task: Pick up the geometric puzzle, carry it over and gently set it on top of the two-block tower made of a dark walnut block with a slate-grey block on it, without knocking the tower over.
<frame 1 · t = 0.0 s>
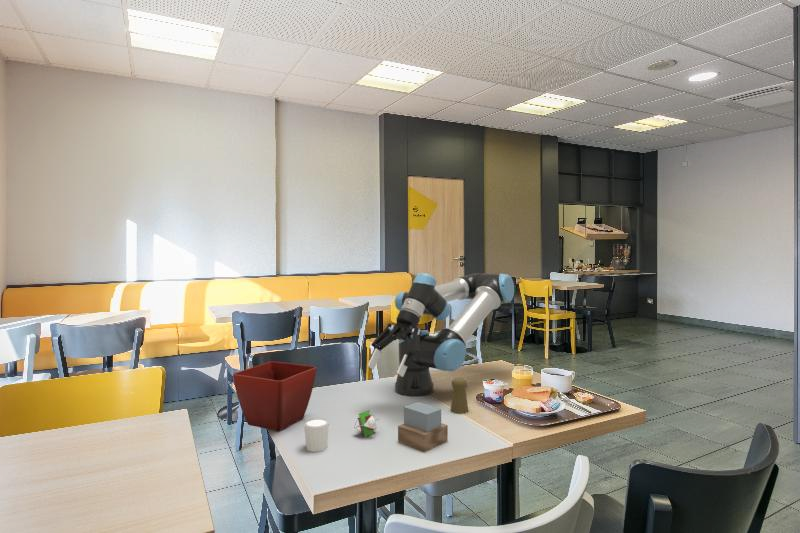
hand: (384, 371, 156), 15 cm above the table, tool tilted 35°, fingers open, 13 cm apart
white cup: (317, 448, 134), on the table
tower base block: (422, 442, 137), on the table, touching tower top block
plant pot: (276, 422, 154), on the table
cork: (459, 411, 163), on the table
geometric puzzle: (366, 434, 143), on the table
tower top block: (422, 425, 137), point 5 cm above the table, touching tower base block
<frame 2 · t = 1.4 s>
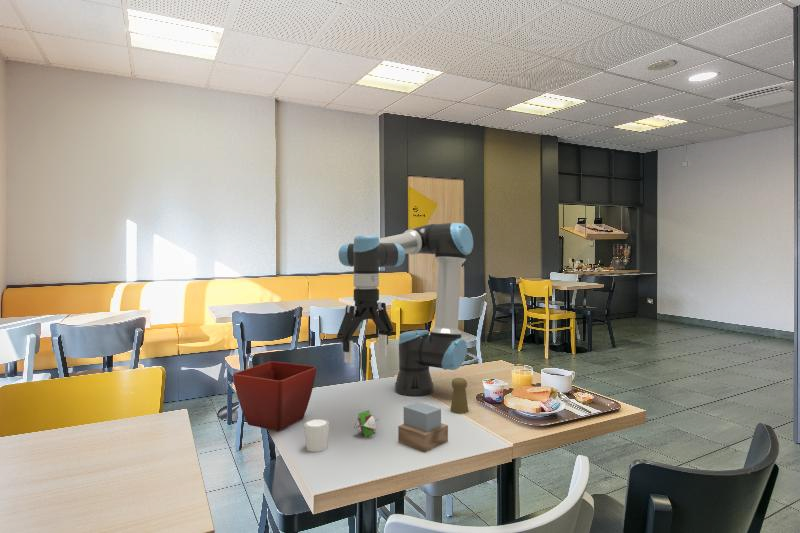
hand: (366, 359, 143), 22 cm above the table, tool pointing down, fingers open, 13 cm apart
tower base block: (423, 442, 137), on the table
tower top block: (422, 425, 137), point 5 cm above the table
everything else where it was.
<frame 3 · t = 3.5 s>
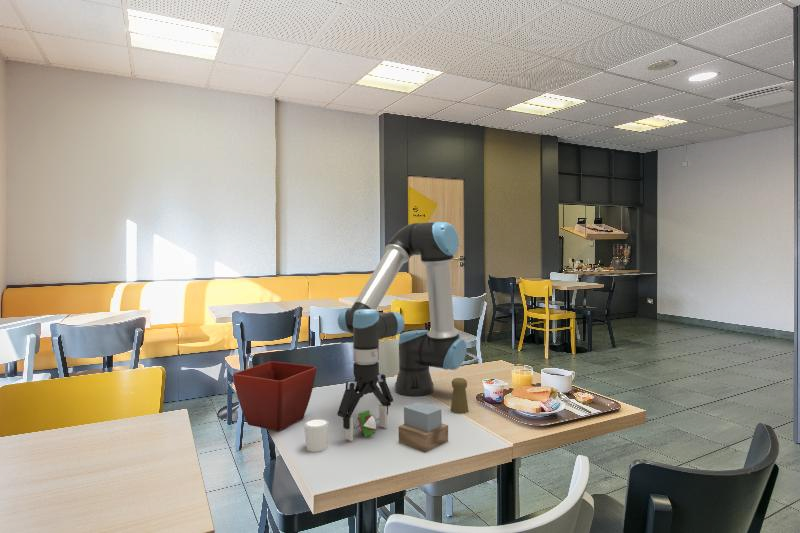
hand: (366, 432, 143), 0 cm above the table, tool pointing down, fingers open, 13 cm apart
tower base block: (423, 443, 137), on the table, touching tower top block
tower top block: (422, 425, 137), point 5 cm above the table, touching tower base block
everything else where it was.
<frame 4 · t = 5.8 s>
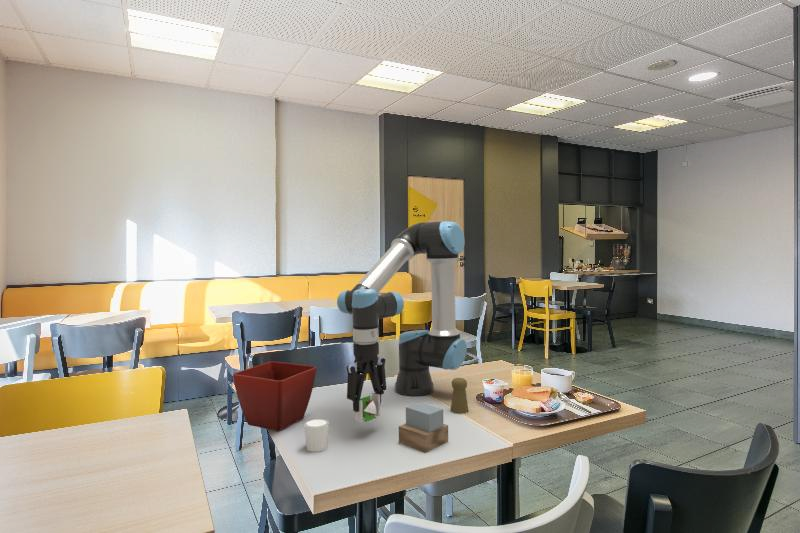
hand: (367, 418, 143), 5 cm above the table, tool pointing down, fingers closed on geometric puzzle, 6 cm apart
tower base block: (423, 443, 137), on the table
geometric puzzle: (367, 419, 143), point 4 cm above the table, touching gripper
tower top block: (424, 425, 137), point 5 cm above the table
everything else where it was.
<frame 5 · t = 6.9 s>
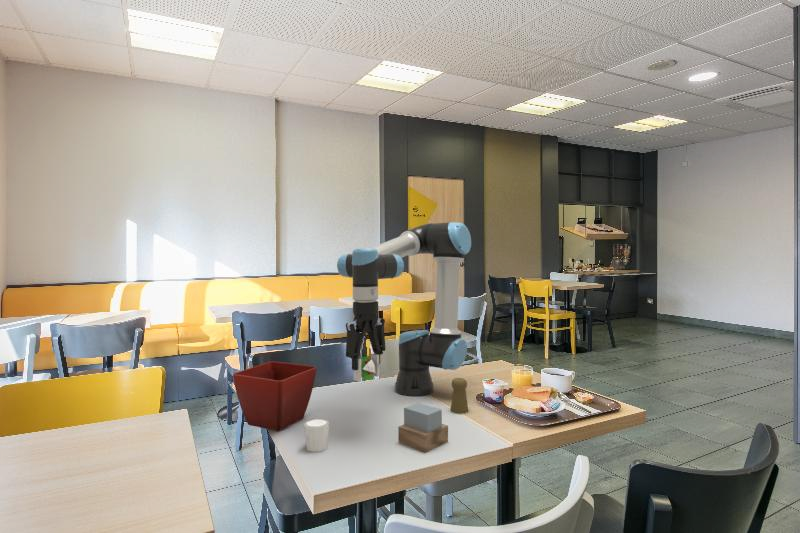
hand: (366, 377, 143), 17 cm above the table, tool pointing down, fingers closed on geometric puzzle, 6 cm apart
geometric puzzle: (366, 379, 143), point 16 cm above the table, touching gripper
everything else where it was.
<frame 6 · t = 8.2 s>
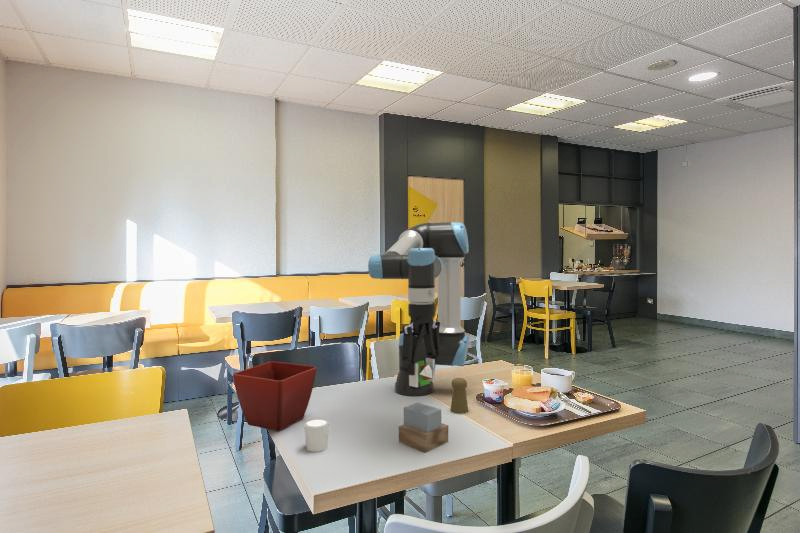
hand: (422, 383, 137), 17 cm above the table, tool pointing down, fingers closed on geometric puzzle, 6 cm apart
tower base block: (423, 443, 137), on the table, touching tower top block
geometric puzzle: (421, 384, 137), point 16 cm above the table, touching gripper
tower top block: (422, 425, 137), point 5 cm above the table, touching tower base block
everything else where it was.
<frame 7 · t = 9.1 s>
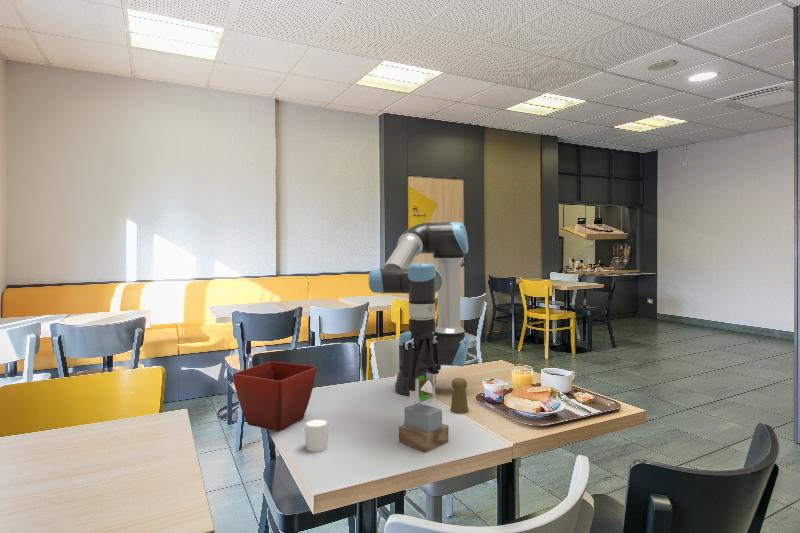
hand: (422, 398, 137), 12 cm above the table, tool pointing down, fingers closed on geometric puzzle, 6 cm apart
geometric puzzle: (422, 400, 137), point 12 cm above the table, touching gripper
everything else where it was.
when the fingers open (10 cm above the table, at t = 10.3 s): geometric puzzle stays where it is, resting on tower top block.
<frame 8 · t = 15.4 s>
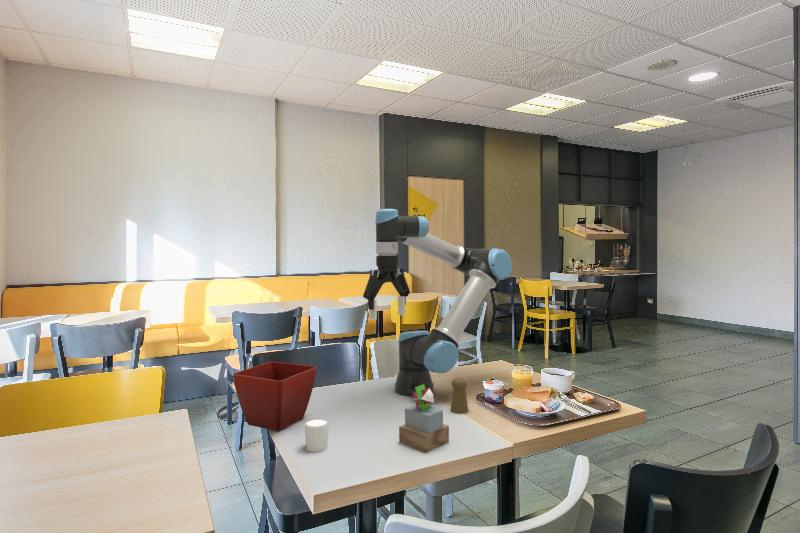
hand: (387, 317, 164), 32 cm above the table, tool pointing down, fingers open, 13 cm apart
geometric puzzle: (423, 409, 137), point 9 cm above the table, touching tower top block
tower top block: (423, 426, 136), point 5 cm above the table, touching geometric puzzle, tower base block
everything else where it was.
at the end: geometric puzzle inside the target area on the tower base block (0.6 cm from its centre), point 9.8 cm above the tower base block's base; tower top block 0.3 cm off-centre on the tower base block, point 5.0 cm above the tower base block's base; tower base block tilted 0° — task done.
